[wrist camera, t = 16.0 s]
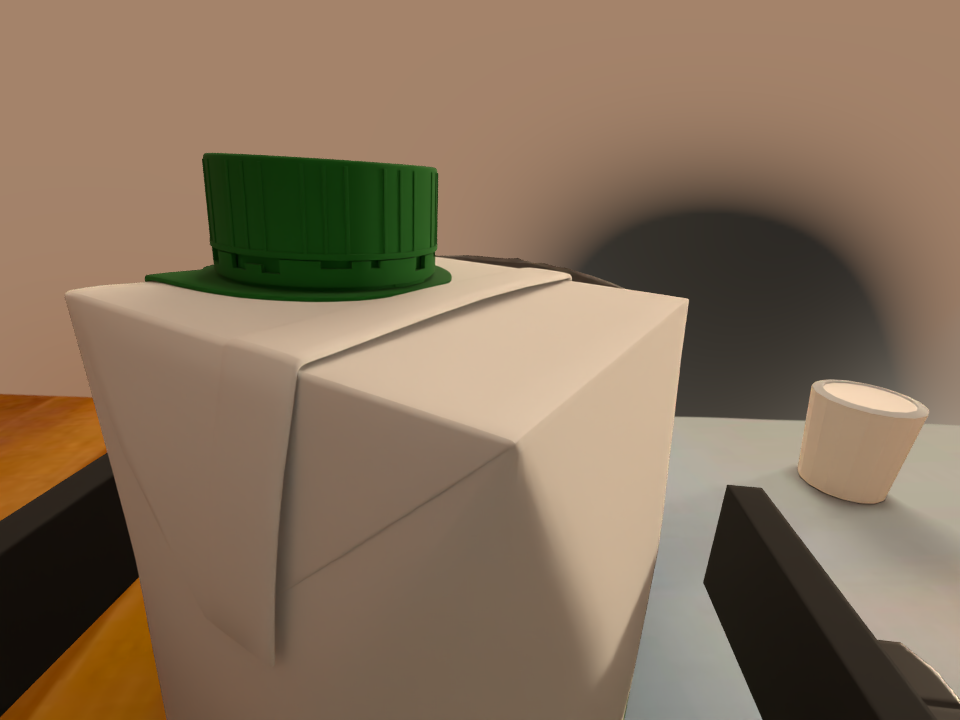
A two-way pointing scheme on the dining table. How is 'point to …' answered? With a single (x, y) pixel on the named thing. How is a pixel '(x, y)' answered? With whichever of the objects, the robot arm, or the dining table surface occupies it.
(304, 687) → the milk carton
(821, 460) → the beige tapered cylinder
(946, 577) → the dining table surface
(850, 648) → the robot arm
